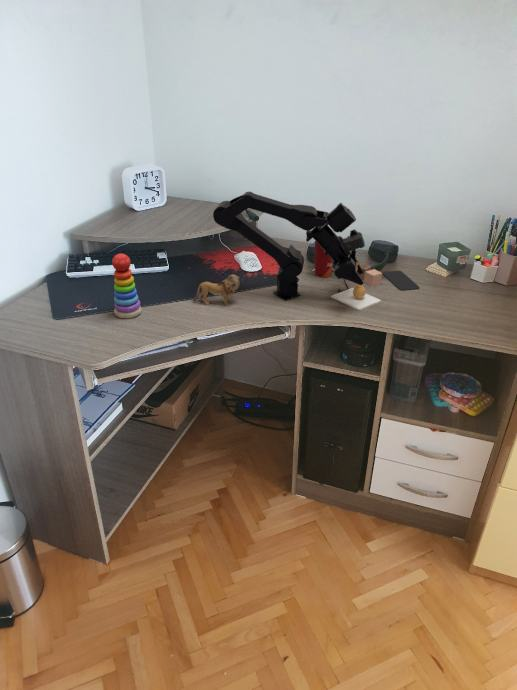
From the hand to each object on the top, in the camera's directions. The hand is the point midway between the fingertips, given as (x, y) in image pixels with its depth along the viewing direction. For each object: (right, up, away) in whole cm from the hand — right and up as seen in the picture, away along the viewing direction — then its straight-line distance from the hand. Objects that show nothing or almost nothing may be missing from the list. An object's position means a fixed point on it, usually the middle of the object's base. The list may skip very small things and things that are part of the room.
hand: (362, 278), depth 169 cm
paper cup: (-10, +4, +21) cm, 24 cm away
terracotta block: (+6, 0, +15) cm, 16 cm away
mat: (-1, -6, +4) cm, 7 cm away
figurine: (-1, -6, +4) cm, 7 cm away
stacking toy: (-71, -11, -5) cm, 72 cm away
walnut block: (+4, +3, +19) cm, 20 cm away
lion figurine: (-45, -7, +2) cm, 45 cm away
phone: (+16, +1, +17) cm, 24 cm away
